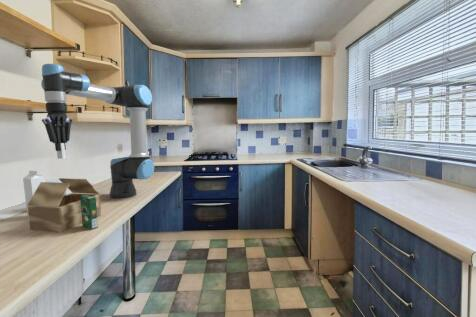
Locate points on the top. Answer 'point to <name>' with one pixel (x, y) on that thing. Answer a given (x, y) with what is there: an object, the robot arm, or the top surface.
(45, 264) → the top surface
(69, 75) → the robot arm
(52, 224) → the carton
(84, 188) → the flap
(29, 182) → the milk
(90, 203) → the coffee box
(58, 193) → the flap
